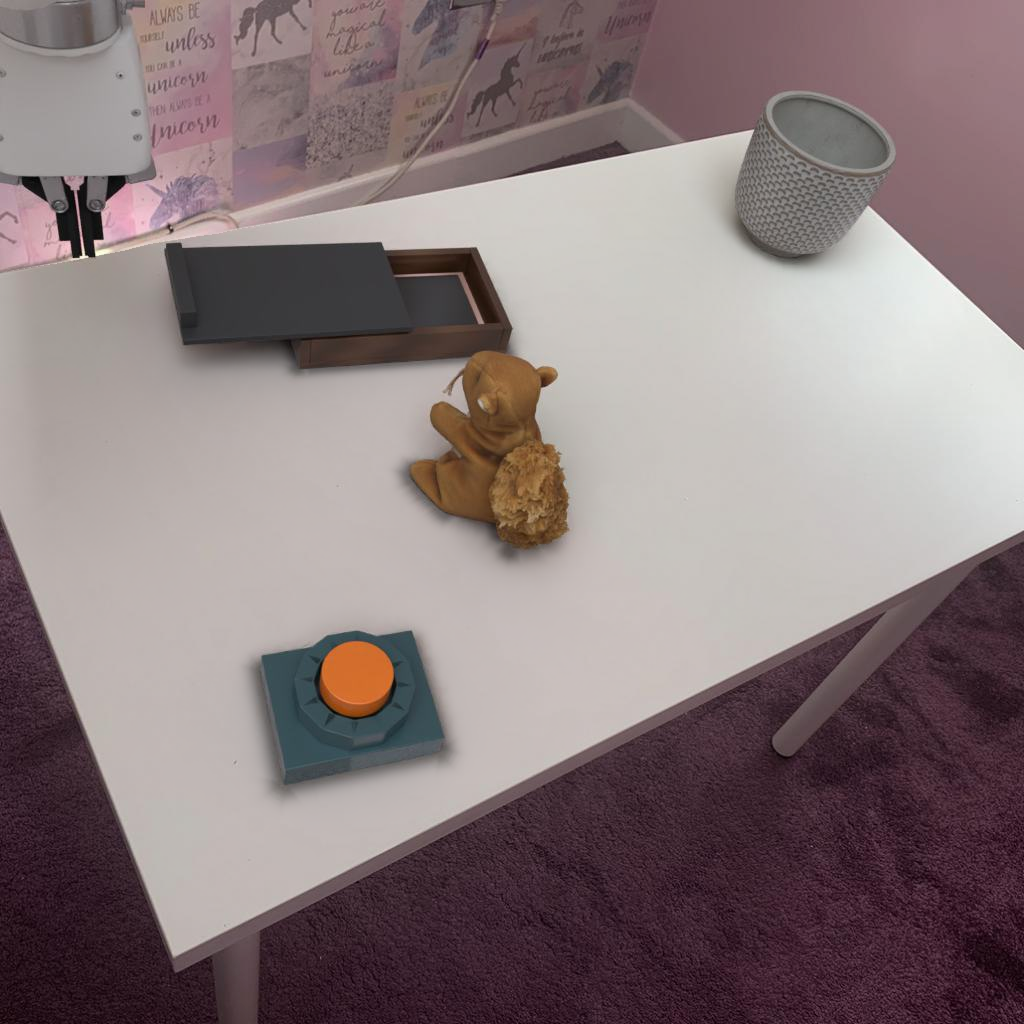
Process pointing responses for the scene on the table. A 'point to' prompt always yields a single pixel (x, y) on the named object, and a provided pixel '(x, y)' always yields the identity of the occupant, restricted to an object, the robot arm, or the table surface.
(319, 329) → the lid
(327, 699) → the button
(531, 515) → the stuffed squirrel
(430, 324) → the wooden box
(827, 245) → the planter
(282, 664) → the dark teal square block
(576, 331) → the table surface
